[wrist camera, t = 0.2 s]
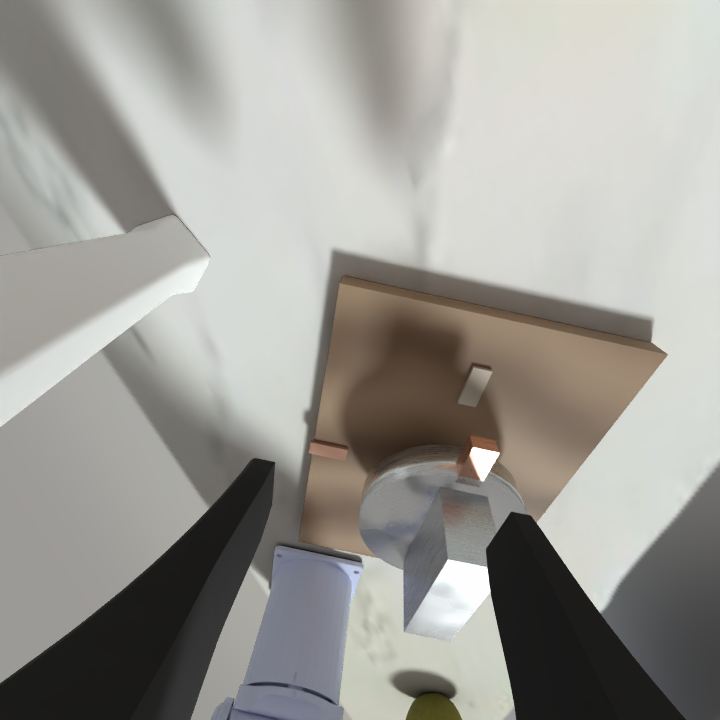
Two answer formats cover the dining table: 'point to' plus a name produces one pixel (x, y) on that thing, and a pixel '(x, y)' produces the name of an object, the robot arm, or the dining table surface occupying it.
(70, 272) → the perfume bottle
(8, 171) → the dining table surface
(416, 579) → the cap
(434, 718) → the apple
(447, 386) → the post board
